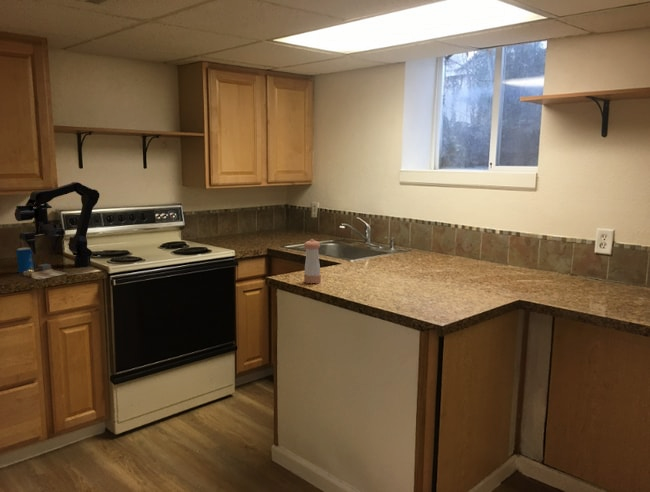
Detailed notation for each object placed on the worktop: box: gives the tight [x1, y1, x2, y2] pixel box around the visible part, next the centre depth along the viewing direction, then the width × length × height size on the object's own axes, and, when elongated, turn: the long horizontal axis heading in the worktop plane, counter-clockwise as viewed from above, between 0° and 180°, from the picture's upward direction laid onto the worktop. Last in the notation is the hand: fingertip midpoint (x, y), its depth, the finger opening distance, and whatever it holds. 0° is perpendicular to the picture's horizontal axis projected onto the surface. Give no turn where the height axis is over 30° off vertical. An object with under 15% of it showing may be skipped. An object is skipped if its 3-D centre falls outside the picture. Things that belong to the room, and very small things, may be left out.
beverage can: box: [16, 247, 35, 274], centre depth 260 cm, size 6×6×12 cm
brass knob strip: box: [24, 269, 34, 278], centre depth 251 cm, size 2×5×3 cm, turn 57°
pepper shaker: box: [303, 238, 322, 284], centre depth 242 cm, size 7×7×19 cm
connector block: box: [37, 263, 52, 272], centre depth 257 cm, size 4×4×4 cm
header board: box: [22, 268, 69, 280], centre depth 255 cm, size 14×13×3 cm
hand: (44, 252), depth 256 cm, fingers open, 9 cm apart
